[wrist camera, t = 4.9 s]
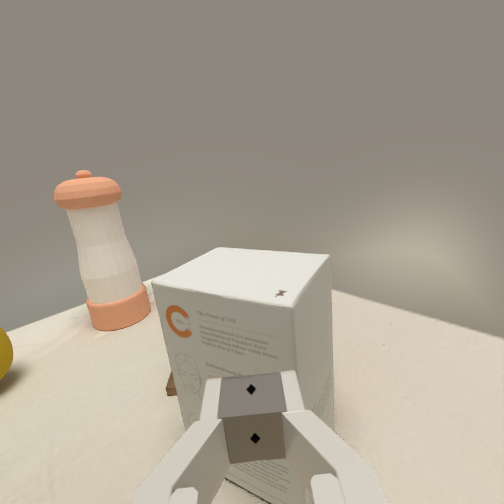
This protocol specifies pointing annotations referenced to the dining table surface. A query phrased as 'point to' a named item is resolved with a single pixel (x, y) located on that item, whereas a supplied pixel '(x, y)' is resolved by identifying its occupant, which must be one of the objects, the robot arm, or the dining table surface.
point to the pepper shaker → (103, 251)
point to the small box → (251, 339)
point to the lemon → (5, 353)
